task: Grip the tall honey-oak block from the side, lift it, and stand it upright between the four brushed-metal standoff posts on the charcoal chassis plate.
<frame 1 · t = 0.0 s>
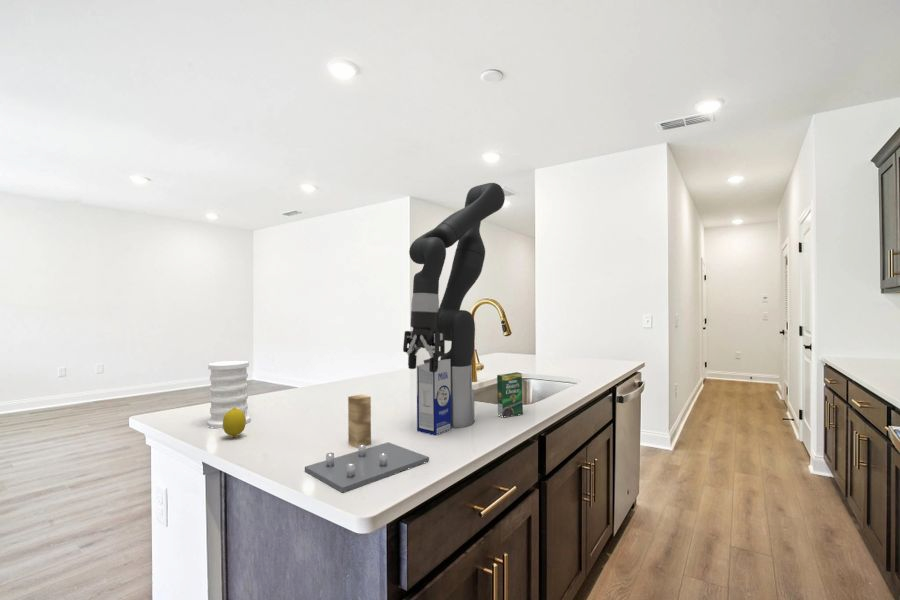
hand: (422, 370, 118), 17 cm above the countertop, tool pointing down, fingers open, 8 cm apart
oak block: (359, 444, 109), on the countertop
milk carton: (434, 430, 121), on the countertop
lemon: (234, 438, 116), on the countertop
chassis: (356, 470, 92), on the countertop
decorative container: (229, 423, 130), on the countertop
coffee box: (510, 416, 136), on the countertop
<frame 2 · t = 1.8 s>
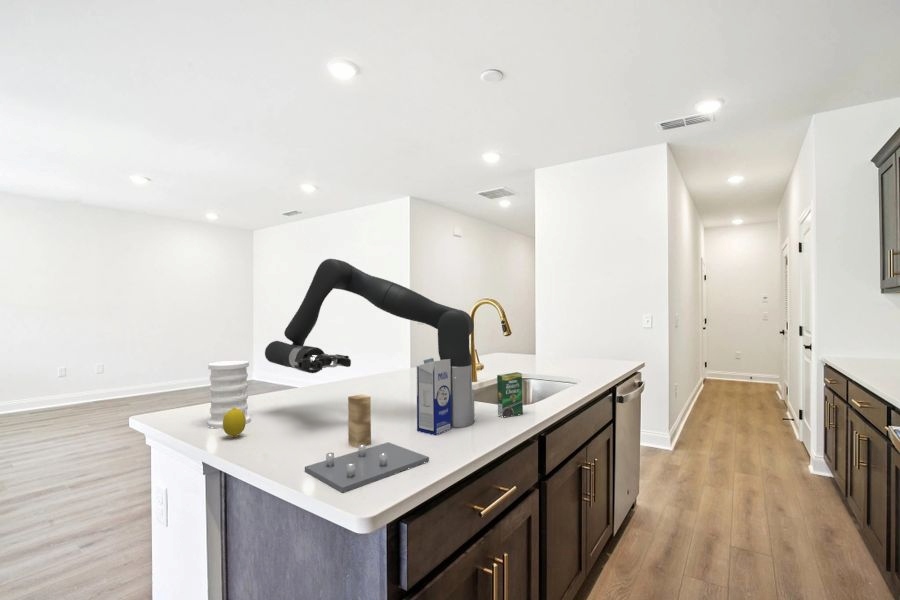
hand: (335, 364, 117), 19 cm above the countertop, tool horizontal, fingers open, 8 cm apart
nothing on the countertop moved.
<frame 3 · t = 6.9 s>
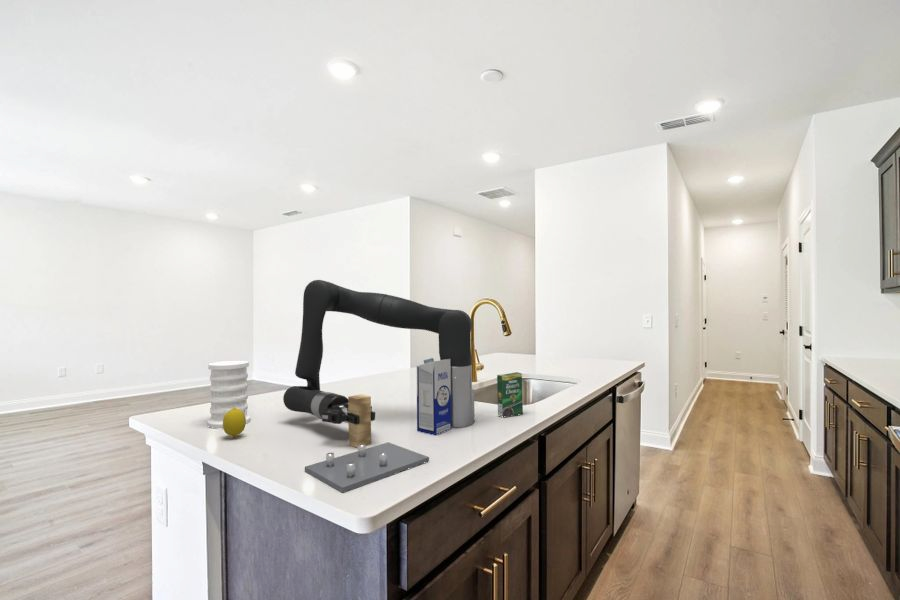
hand: (366, 418, 108), 7 cm above the countertop, tool horizontal, fingers closed on oak block, 4 cm apart
oak block: (359, 444, 109), on the countertop, touching gripper
everything else where it was.
when the fingers open (9 cm above the countertop, at t = 13.4 s): oak block stays where it is, resting on chassis.
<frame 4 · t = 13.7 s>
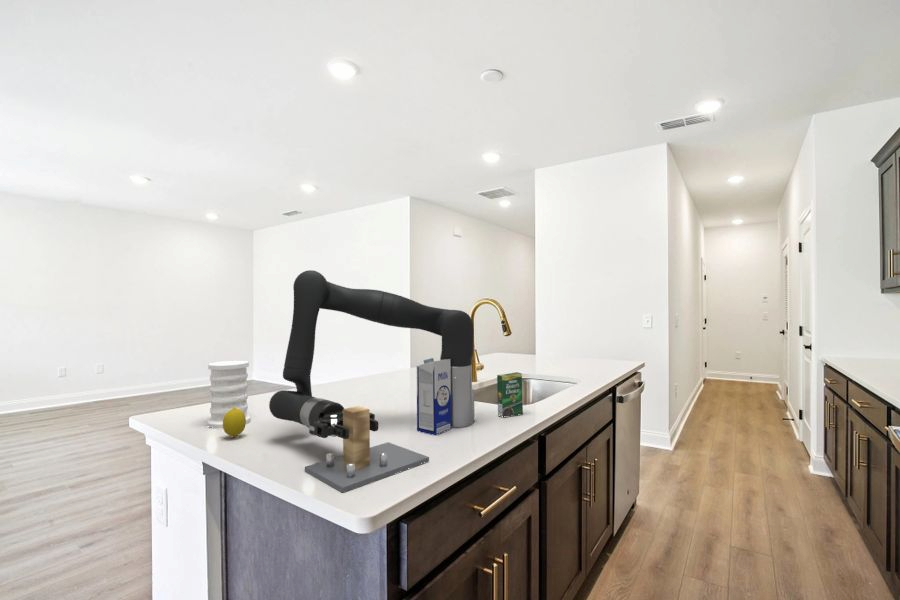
hand: (362, 430, 91), 9 cm above the countertop, tool horizontal, fingers open, 6 cm apart
oak block: (356, 465, 92), point 1 cm above the countertop, touching chassis
everything else where it was.
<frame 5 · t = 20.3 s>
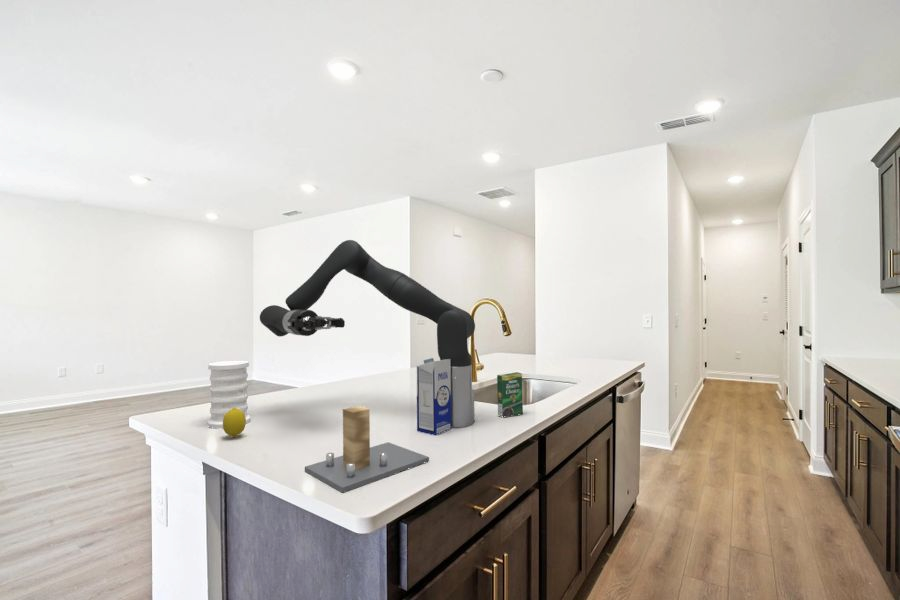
hand: (329, 324, 116), 30 cm above the countertop, tool horizontal, fingers open, 8 cm apart
nothing on the countertop moved.
at the end: oak block 0.0 cm off-centre on the chassis, point 1.0 cm above the chassis's base; oak block tilted 0°; the gripper is holding nothing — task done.
